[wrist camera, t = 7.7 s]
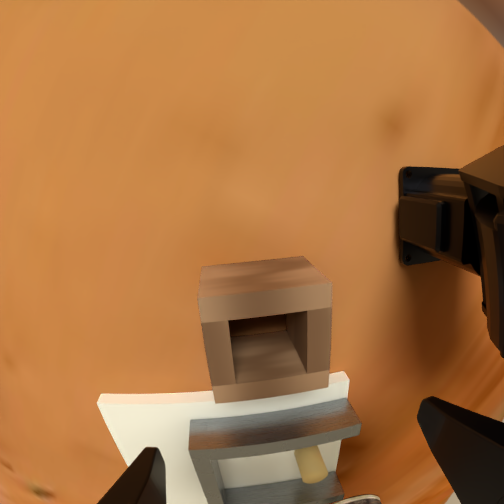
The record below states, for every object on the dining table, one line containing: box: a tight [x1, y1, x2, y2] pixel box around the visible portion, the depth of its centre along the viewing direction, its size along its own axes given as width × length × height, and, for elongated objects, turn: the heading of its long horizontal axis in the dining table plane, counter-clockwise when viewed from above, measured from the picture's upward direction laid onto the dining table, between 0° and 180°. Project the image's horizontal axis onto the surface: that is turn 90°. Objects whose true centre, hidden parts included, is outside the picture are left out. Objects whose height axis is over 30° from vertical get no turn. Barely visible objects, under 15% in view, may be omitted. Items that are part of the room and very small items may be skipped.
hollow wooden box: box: [198, 256, 332, 404], centre depth 17 cm, size 6×6×5 cm
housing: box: [188, 397, 362, 504], centre depth 19 cm, size 11×11×3 cm
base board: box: [97, 371, 349, 504], centre depth 20 cm, size 18×16×4 cm
